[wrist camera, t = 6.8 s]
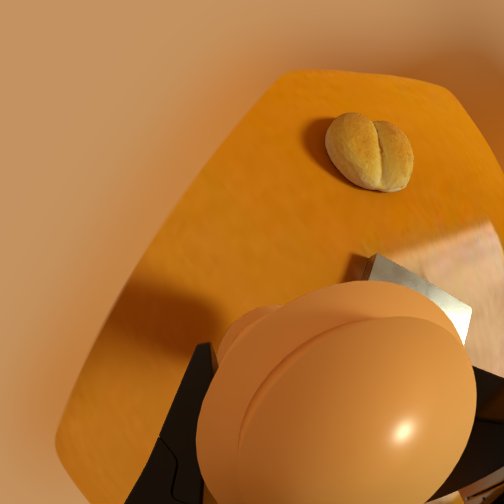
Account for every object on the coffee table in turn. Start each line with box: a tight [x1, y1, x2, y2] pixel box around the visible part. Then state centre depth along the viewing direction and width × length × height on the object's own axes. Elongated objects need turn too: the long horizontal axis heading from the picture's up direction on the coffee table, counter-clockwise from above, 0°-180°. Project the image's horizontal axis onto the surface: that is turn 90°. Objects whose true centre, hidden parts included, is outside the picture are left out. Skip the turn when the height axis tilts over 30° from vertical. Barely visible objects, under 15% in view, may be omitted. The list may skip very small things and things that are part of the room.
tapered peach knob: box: [196, 280, 477, 504], centre depth 8 cm, size 5×5×13 cm
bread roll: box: [325, 113, 414, 192], centre depth 22 cm, size 8×9×4 cm
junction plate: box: [361, 253, 472, 344], centre depth 18 cm, size 12×12×2 cm
